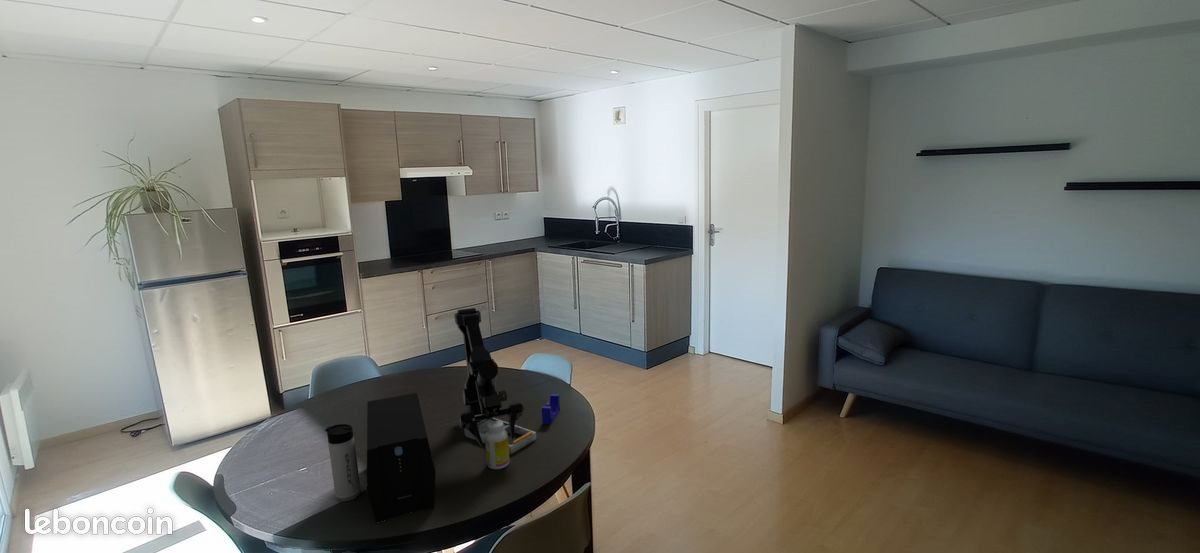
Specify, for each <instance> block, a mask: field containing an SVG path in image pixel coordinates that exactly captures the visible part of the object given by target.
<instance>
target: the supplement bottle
mask: <svg viewBox="0 0 1200 553" xmlns="http://www.w3.org/2000/svg"><path fill="white" fill-rule="evenodd" d="M503 427H504V426H503V422H501V421H492V422H490V423H488V424H487V429H488V432H487V433H486V434H485V455H486V457H485V458H486V464H487V467H488V468H489V469H492V470H501V469H503V468H506V467H508V465H509V463H510V462H511V461H510V453H509V447H508V442H509V438H508V437H509V436H508V434H507V432H506V431H505V430H504V429H503Z"/></svg>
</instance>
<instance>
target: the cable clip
mask: <svg viewBox="0 0 1200 553" xmlns="http://www.w3.org/2000/svg"><path fill="white" fill-rule="evenodd" d="M560 410H561V403H560V393H551V394H550V395H549V401H547V402H546V403H545V405H542V407H541V418H542V424H543V425H552V423H553V422H554V421H555V419H556V417H557V415H558V413H559V412H560Z"/></svg>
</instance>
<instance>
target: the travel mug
mask: <svg viewBox="0 0 1200 553" xmlns="http://www.w3.org/2000/svg"><path fill="white" fill-rule="evenodd" d="M325 432H326V434H327V435H326V437H327V443H328V451H329V458H330V466H331V472H332V474H331V475H332V480H333V487H334V492H335V499H336V500H337V501H338V500H339V501H338V502H349V501H352V500H354V499H356V498H357V496H358V497H359V496H360V495H361V493H362V490H361V489H362V488H361V481H360V474H359V472H360V471H359V465H358V459H357V451H356V443H355V435H354V431H353V426H352V425H350V424H345V423H339V424H335V425H332V426H327V428H325Z"/></svg>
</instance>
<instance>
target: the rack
mask: <svg viewBox="0 0 1200 553" xmlns="http://www.w3.org/2000/svg"><path fill="white" fill-rule="evenodd" d="M492 421H501V422H503V426H504V427H503V429H504V430H505V431H506V432H507V435H508V434H510V427H509V421H505V420H501V419H499V418H497V417H495V418H490V419H485V420H481V421H479V422H477V427H478V430H479V433H480V436H481V440H482V444H485V434H486V433H487V432H488V429H487V424H488V423H490V422H492ZM463 430H464V436H465V437H466V438H468V439H472V440H475V441H477V440H476V438H475V437H474V436H473V434H472V433H471V432H470V431H469V430H465V428H464V429H463ZM514 434H517V435H520V436H519V437H518V438H516V439H515V440H513V441H512V444H509V443H510V442H509V441H508V447H509V455H512V454H514V453H515V452H518V451H520V450H521V449H522V448H524V447H526V446H528V445H529V444H531V443H533V442H534V441H536V440H537V432H536V431H533V430H531V429H527V428H524V427H523V426H519V425H516V424H515V428H514Z"/></svg>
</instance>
